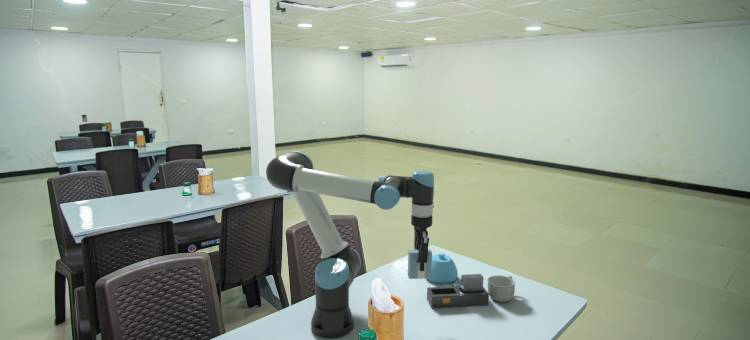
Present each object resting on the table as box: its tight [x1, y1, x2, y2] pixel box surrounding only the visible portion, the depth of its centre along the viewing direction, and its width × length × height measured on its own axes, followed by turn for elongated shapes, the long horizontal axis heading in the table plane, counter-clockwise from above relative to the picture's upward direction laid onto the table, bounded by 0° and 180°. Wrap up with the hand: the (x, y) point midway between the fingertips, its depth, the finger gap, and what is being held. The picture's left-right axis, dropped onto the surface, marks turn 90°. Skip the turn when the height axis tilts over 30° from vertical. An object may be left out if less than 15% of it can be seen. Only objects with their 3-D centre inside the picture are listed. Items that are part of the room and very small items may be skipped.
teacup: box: [487, 275, 516, 303], centre depth 168 cm, size 14×11×8 cm
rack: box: [426, 273, 490, 309], centre depth 163 cm, size 23×8×11 cm, turn 97°
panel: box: [407, 248, 433, 280], centre depth 149 cm, size 8×3×10 cm, turn 97°
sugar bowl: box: [426, 252, 459, 285], centre depth 185 cm, size 15×15×12 cm
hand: (419, 275), depth 150 cm, fingers closed on panel, 3 cm apart
